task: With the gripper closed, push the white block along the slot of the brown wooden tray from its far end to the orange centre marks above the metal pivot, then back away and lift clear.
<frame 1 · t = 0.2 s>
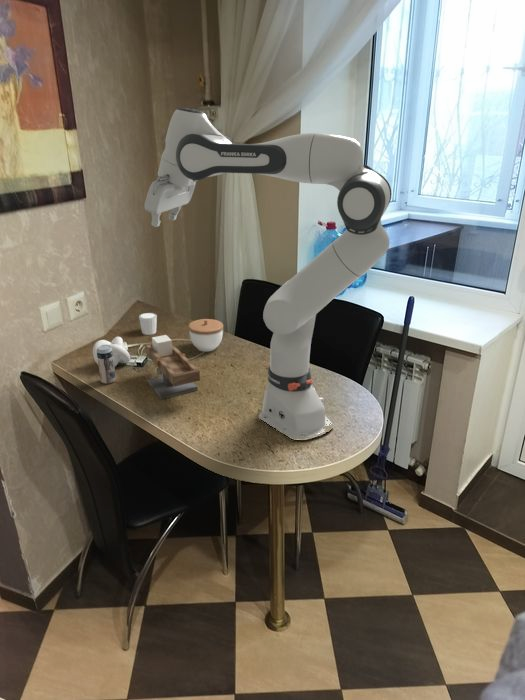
hand: (163, 222, 137), 52 cm above the table, tool tilted 20°, fingers open, 8 cm apart
white block: (162, 346, 160), point 11 cm above the table, slide at 7.5 cm
shot glass: (149, 332, 199), on the table
beer can: (108, 381, 161), on the table
lidded bowl: (206, 348, 187), on the table
white knot sculpture: (111, 365, 172), on the table
brown wooden tray: (172, 386, 159), on the table
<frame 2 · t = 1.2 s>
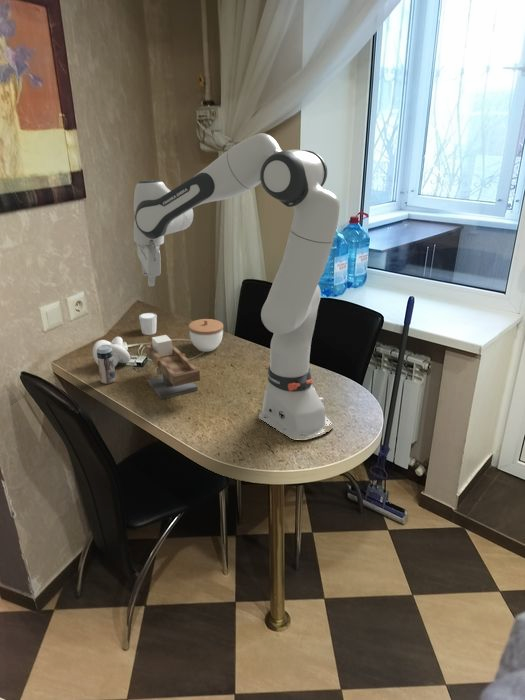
hand: (148, 280, 154), 32 cm above the table, tool pointing down, fingers open, 8 cm apart
nothing on the table moved.
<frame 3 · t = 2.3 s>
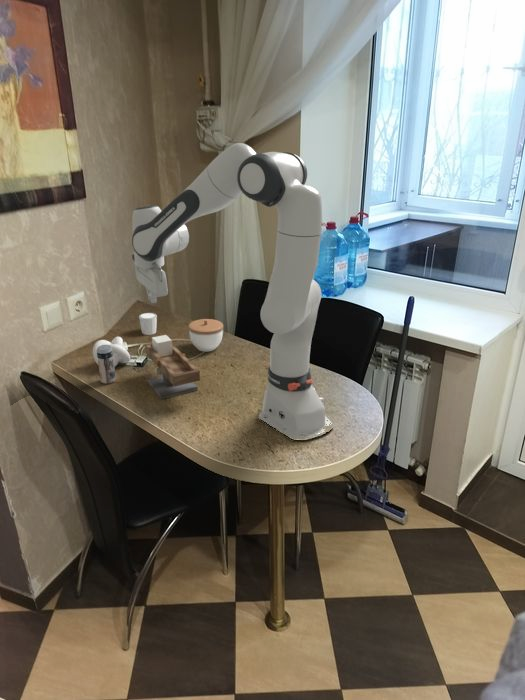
hand: (152, 301, 160), 24 cm above the table, tool pointing down, fingers closed
nothing on the table moved.
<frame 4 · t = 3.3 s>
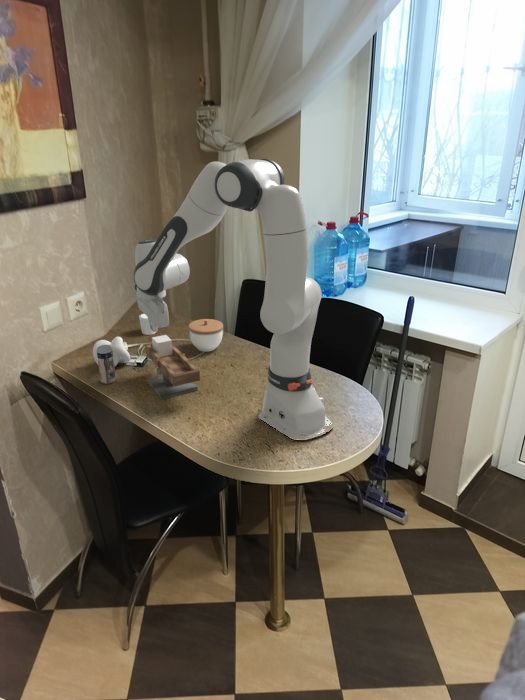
hand: (154, 330, 164), 14 cm above the table, tool pointing down, fingers closed
nothing on the table moved.
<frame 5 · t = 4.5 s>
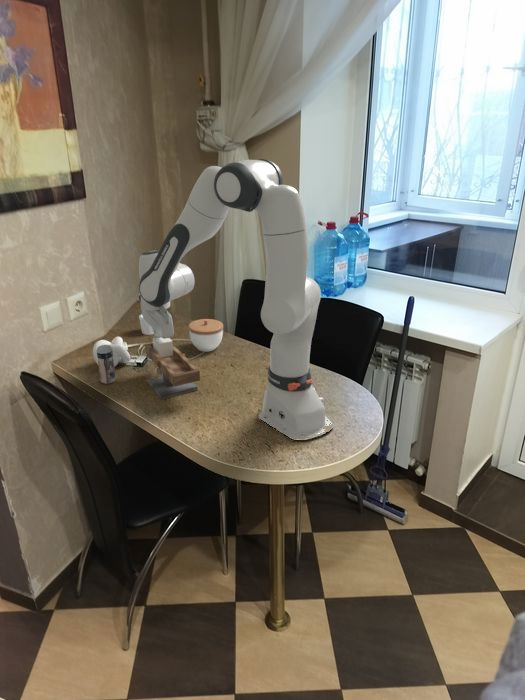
hand: (158, 341, 163), 11 cm above the table, tool pointing down, fingers closed
white block: (162, 346, 160), point 11 cm above the table, slide at 6.9 cm, touching gripper
everything else where it was.
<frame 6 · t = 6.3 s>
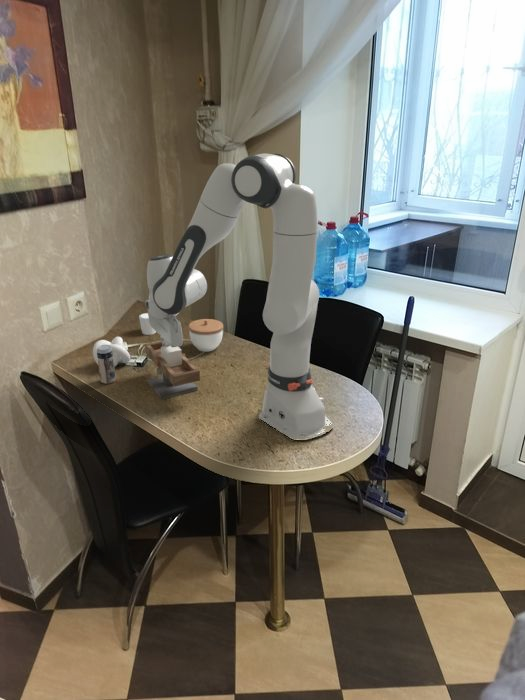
hand: (166, 349, 157), 12 cm above the table, tool pointing down, fingers closed
white block: (171, 355, 154), point 11 cm above the table, slide at -0.6 cm, touching gripper
everything else where it was.
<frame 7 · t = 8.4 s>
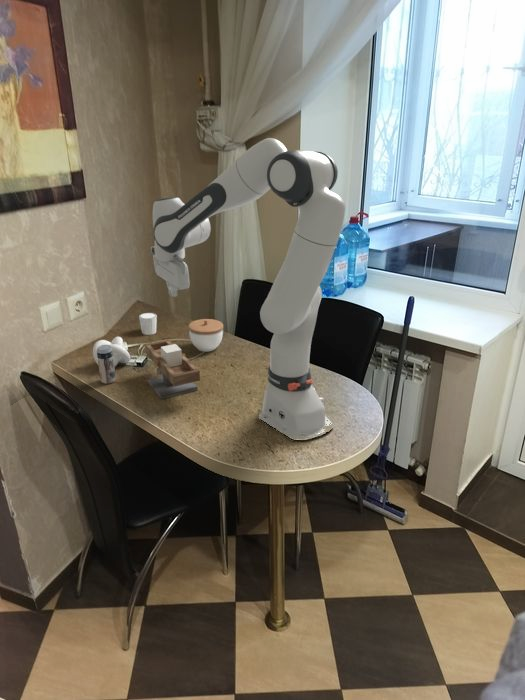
hand: (173, 295, 157), 27 cm above the table, tool pointing down, fingers closed
white block: (171, 355, 154), point 11 cm above the table, slide at -0.6 cm
everything else where it was.
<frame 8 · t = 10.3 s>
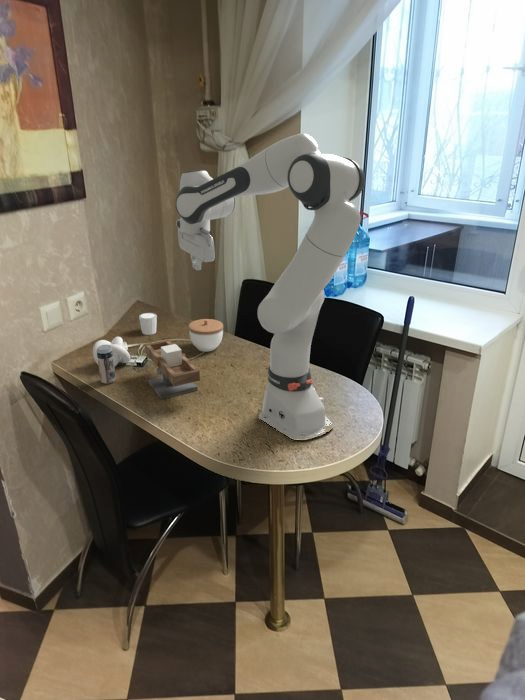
hand: (196, 269, 159), 34 cm above the table, tool pointing down, fingers closed
nothing on the table moved.
at the end: white block slide at -0.6 cm; the gripper is holding nothing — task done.
